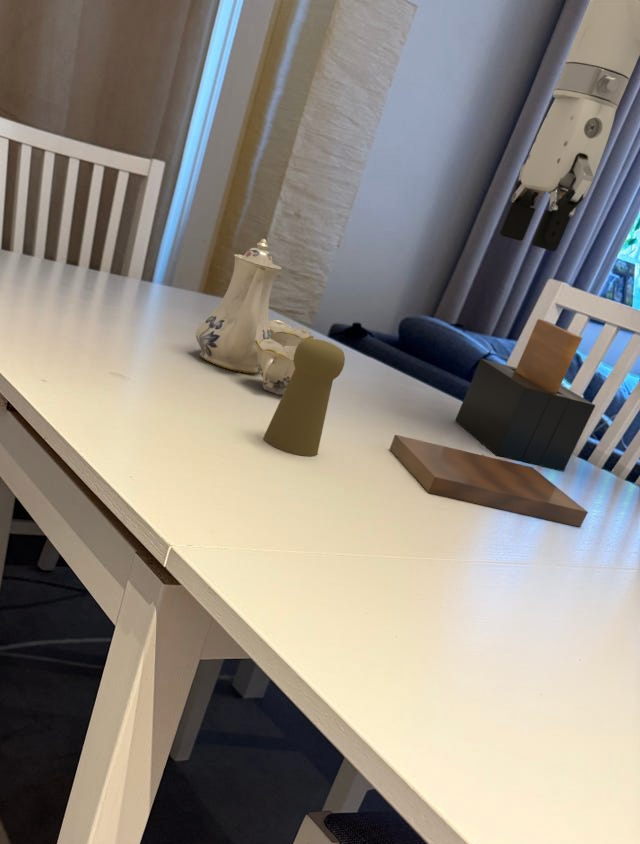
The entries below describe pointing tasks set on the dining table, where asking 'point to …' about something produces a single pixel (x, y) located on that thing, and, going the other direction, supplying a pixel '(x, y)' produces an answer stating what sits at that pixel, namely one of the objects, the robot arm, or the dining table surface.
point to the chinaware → (251, 325)
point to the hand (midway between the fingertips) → (526, 242)
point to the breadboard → (486, 481)
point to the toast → (548, 355)
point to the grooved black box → (523, 416)
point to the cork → (306, 398)
